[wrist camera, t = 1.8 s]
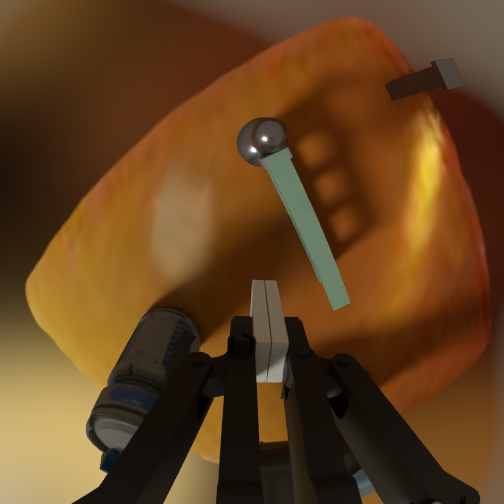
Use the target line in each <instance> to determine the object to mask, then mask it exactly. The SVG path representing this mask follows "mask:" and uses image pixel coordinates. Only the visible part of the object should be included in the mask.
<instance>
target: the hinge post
mask: <svg viewBox="0 0 504 504" xmlns="http://www.w3.org/2000/svg"><path fill="white" fill-rule="evenodd" d="M287 138H288V132H287V129H286V127H285V125H284V124H283V123H282V122H281V121H280V120H278V119H276V118H272V117H266V118H262V119H257V120H253V121H251V122H249V123H247V124H246V125H245V126H244V127H243V128H242V129H241V131H240V132H239V135H238V138H237V148H238V151H239V153H240V155H241V156H242V158H243V159H244V160H245V161H247V162H248V163H250V164H252V165H255V166H262V165H261V163H260V161H259V158H261V157H263V156H265V155H267V154H269V153H271V152H275V151H278V150H280V149H282V148H286V141H287Z"/></svg>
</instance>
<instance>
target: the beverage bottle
mask: <svg viewBox="0 0 504 504" xmlns="http://www.w3.org/2000/svg"><path fill="white" fill-rule="evenodd" d="M200 345H201V336H200V332H199V330H198V328H197V326H196V325H195V323H194V322H193V321H192V320H191V318H189V317H188V316H187V315H186V314H184V313H182V312H181V311H179V310H176V309H172V308H158V309H153V310H151V311H148V312H147V313H146V314H144V316H143V317H142V318H141V320H140V321H139V323H138V325H137V327H136V329H135V331H134V332H133V334H132V336H131V338H130V340H129V341H128V343H127V345H126V347H125V349H124V350H123V352H122V354H121V356H120V358H119V360H118V361H117V363H116V365H115V367H114V368H113V370H112V372H111V374H110V376H109V378H108V381H107V387H105V388H104V389H103V390H102V391H101V393H100V395H99V397H98V399H97V401H96V403H95V405H94V408H93V410H92V413H91V415H90V417H89V419H88V421H87V424H86V434H87V437H88V438H89V440H90V441H91V442H92V444H93V445H95V446H96V447H97V448H98V449H99V450H100V451H102V452H103V454H102V457H101V464H100V469H101V470H102V471H104V472H106V473H108V472H109V471H110V469H111V468H112V466H113V465H114V463H115V462H116V460H117V459H118V457H119V456H120V454H121V453H122V451H123V450H124V448H125V447H126V445H127V444H128V442H129V441H130V439H131V438H132V436H133V435H134V433H135V432H136V430H137V429H138V427H139V426H140V424H141V423H142V421H143V420H144V418H145V417H146V415H147V414H148V412H149V411H150V409H151V408H152V406H153V405H154V403H155V402H156V400H157V399H158V397H159V396H160V394H161V393H162V391H163V390H164V388H165V387H166V385H167V384H168V382H169V381H170V379H171V378H172V376H173V375H174V373H175V372H176V370H177V369H178V367H179V366H180V364H181V363H182V361H183V360H184V358H185V357H186V356H187V355H188V354H190V353H193V352H199V349H200Z"/></svg>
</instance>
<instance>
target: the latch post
mask: <svg viewBox="0 0 504 504" xmlns="http://www.w3.org/2000/svg"><path fill="white" fill-rule="evenodd" d="M431 64H432V67H429V68H426V69H424V70H421V71H418V72H416V73H413V74H411V75H408V76H406V77H403V78H401V79H398V80H396V81H393V82H391V83H389V84H386V85H385V86H386V88H387V90H388V92H389V94H390V96H391V98H392V100H396V99H399V98H402V97H406V96H409V95H413V94H417V93H420V92H424V91H428V90H432V89H435V88H440V87H442V88H443V90H449V89H453V88H456V87H460V86H464V85H465V84H464V81H463V79H462V77H461V74H460V72H459V70H458V68H457V66H456V63H455V61H454V59H453V58H448V59H442V60H436V61H433V62H431Z"/></svg>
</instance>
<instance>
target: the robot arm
mask: <svg viewBox="0 0 504 504" xmlns="http://www.w3.org/2000/svg"><path fill="white" fill-rule="evenodd" d="M266 377H267V382H282V378H283V381H284V383H283V388H282V393H281V399H284V407H285V416H286V424H287V433H288V441H278V442H265V443H263V441H260V442H259V424H258V402H257V382H266ZM219 396H224V404H223V418H222V432H221V447H220V463H219V479H218V485H217V498H216V504H362V501H361V498H363V497H365V496H367V495H369V494H371V493H373V492H375V491H376V492H377V493H378V495H379V497H380V498H381V500H382V501H383V503H384V504H479V503H480V495H479V493H478V491H476V490H475V489H474V488H472V487H470V486H469V485H467V484H465V483H464V482H462V481H460V480H458V479H457V478H455V477H453V476H452V475H450V474H448V473H447V472H445V471H444V470H443V469H442V467H441V466H440V465H439V464H438V462H437V461H436V460H435V458H434V457H433V456H432V455H431V453H430V452H429V451H428V450H427V448H426V447H425V446H424V444H423V443H422V442H421V441H420V440H419V438H418V437H417V435H416V434H415V433H414V432H413V431H412V429H411V428H410V427H409V425H408V424H407V423H406V422H405V420H404V419H403V418H402V417H401V415H400V414H399V413H398V412H397V410H396V409H395V408H394V407H393V405H392V404H391V403H390V402H389V400H388V399H387V398H386V397H385V395H384V394H383V393H382V392H381V390H380V389H379V388H378V387H377V385H376V384H375V383H374V382H373V380H372V378H371V376H370V375H369V373H367V372H366V371H365V370H364V369H363V368H362V367H361V366H360V364H359V363H358V362H357V361H356V359H354V358H353V357H352V356H350V355H348V354H336V355H334V356H333V357H332V359H331V360H330V359H325V358H321V357H318V356H316V354H315V352H314V351H313V350H312V349H311V348H310V347H309V344H308V340H307V337H306V334H305V330H304V327H303V323H302V321H301V320H300V319H299V318H298V317H284V316H283V311H282V306H281V301H280V296H279V291H278V287H277V282H276V281H271V280H265V285H264V280H252V294H251V309H250V316H235V317H234V318H233V319H232V320H231V328H230V336H229V338H228V351H227V352H226V353H225V354H224V355H222V356H219V357H214V358H211V357H210V356H209V355H208V354H206V353H204V352H193V353H190V354H188V355H187V356H186V357H185V358H184V360H183V361H182V363H181V364H180V366H179V367H178V369H177V370H176V372H175V373H174V375H173V376H172V378H171V379H170V381H169V382H168V384H167V385H166V387H165V388H164V390H163V391H162V393H161V394H160V396H159V397H158V399H157V400H156V402H155V403H154V405H153V406H152V408H151V409H150V411H149V412H148V414H147V415H146V417H145V418H144V420H143V421H142V423H141V424H140V426H139V427H138V429H137V430H136V432H135V433H134V435H133V436H132V438H131V439H130V441H129V442H128V444H127V445H126V447H125V448H124V450H123V451H122V453H121V454H120V456H119V457H118V459H117V460H116V462H115V463H114V465H113V466H112V468H111V469H110V471H109V472H108V474H107V475H106V477H105V478H104V480H103V482H102V483H101V484H100V486H99V487H98V488H96V489H95V490H93V491H92V492H90V493H88V494H87V495H85V496H83V497H82V498H80V499H79V500H77V501H75V502H74V503H72V504H163V503H164V501H165V499H166V497H167V495H168V493H169V491H170V489H171V487H172V485H173V483H174V481H175V479H176V477H177V475H178V473H179V471H180V469H181V467H182V465H183V462H184V460H185V459H186V457H187V454H188V452H189V450H190V448H191V446H192V444H193V442H194V440H195V438H196V436H197V434H198V431H199V429H200V427H201V425H202V423H203V421H204V419H205V417H206V414H207V412H208V410H209V408H210V406H211V404H212V402H213V399H214V397H219Z"/></svg>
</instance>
